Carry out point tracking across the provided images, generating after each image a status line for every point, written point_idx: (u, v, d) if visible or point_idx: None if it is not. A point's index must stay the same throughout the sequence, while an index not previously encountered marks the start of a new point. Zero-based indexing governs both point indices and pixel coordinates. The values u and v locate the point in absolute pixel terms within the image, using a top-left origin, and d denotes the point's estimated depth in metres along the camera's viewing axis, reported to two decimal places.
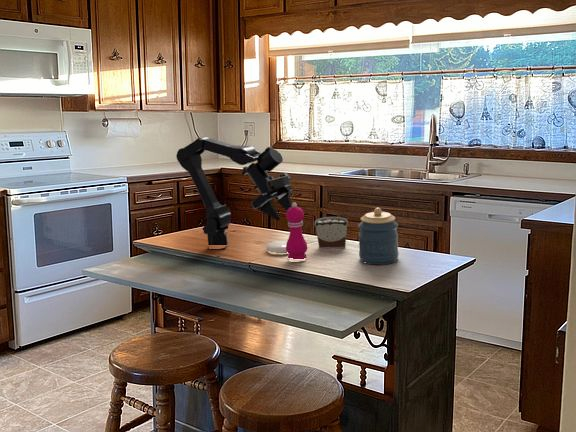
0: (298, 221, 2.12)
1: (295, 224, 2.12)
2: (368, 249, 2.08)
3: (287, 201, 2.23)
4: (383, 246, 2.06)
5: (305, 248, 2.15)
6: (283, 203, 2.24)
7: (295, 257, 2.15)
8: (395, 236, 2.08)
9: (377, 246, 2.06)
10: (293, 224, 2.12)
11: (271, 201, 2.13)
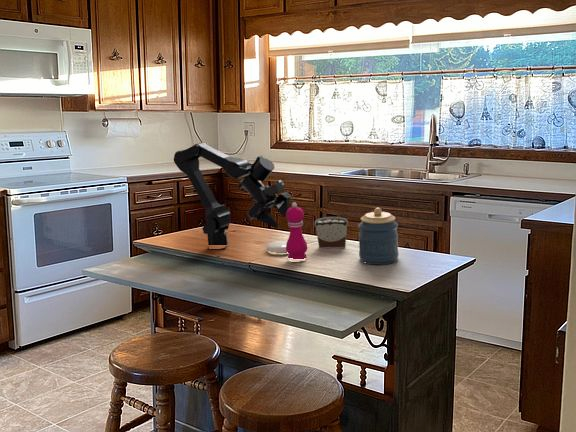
0: (298, 221, 2.12)
1: (295, 224, 2.12)
2: (368, 249, 2.08)
3: (286, 209, 2.21)
4: (383, 246, 2.06)
5: (305, 248, 2.15)
6: (282, 211, 2.23)
7: (295, 257, 2.15)
8: (395, 236, 2.08)
9: (377, 246, 2.06)
10: (293, 224, 2.12)
11: (266, 209, 2.12)
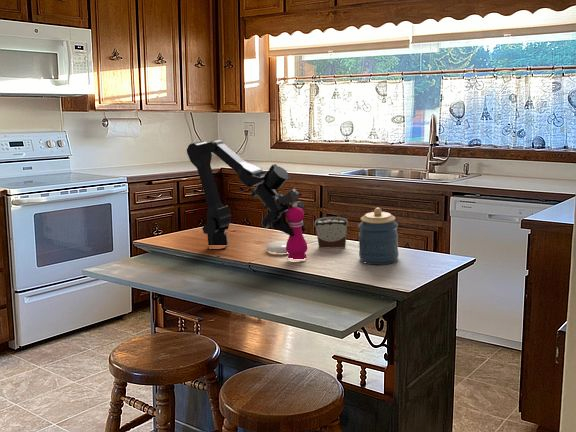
0: (298, 221, 2.12)
1: (295, 224, 2.12)
2: (368, 249, 2.08)
3: None
4: (383, 246, 2.06)
5: (305, 248, 2.15)
6: None
7: (295, 257, 2.15)
8: (395, 236, 2.08)
9: (377, 246, 2.06)
10: (293, 224, 2.12)
11: (283, 217, 2.11)
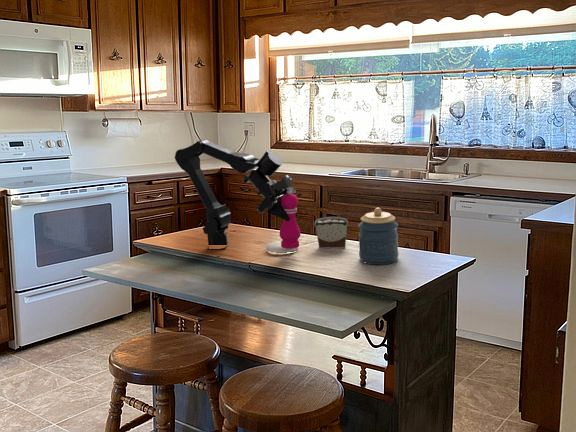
0: (293, 207, 2.17)
1: (290, 210, 2.17)
2: (368, 249, 2.08)
3: None
4: (383, 246, 2.06)
5: (299, 234, 2.19)
6: None
7: (289, 243, 2.19)
8: (395, 236, 2.08)
9: (377, 246, 2.06)
10: (288, 210, 2.17)
11: (279, 202, 2.15)
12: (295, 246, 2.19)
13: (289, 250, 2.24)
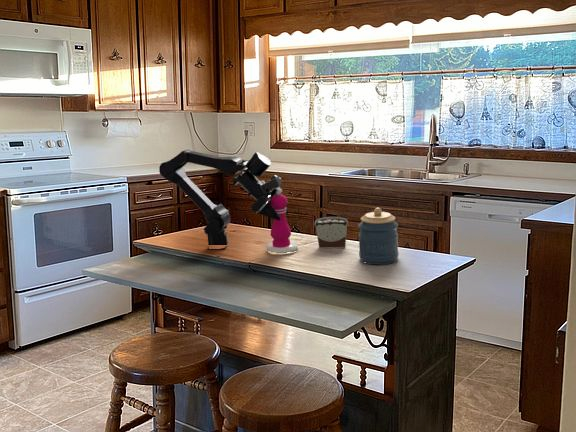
0: (283, 207, 2.24)
1: (281, 210, 2.23)
2: (368, 249, 2.08)
3: None
4: (383, 246, 2.06)
5: (290, 233, 2.27)
6: None
7: (281, 242, 2.26)
8: (395, 236, 2.08)
9: (377, 246, 2.06)
10: (279, 210, 2.23)
11: (270, 202, 2.20)
12: (287, 244, 2.27)
13: (289, 250, 2.24)
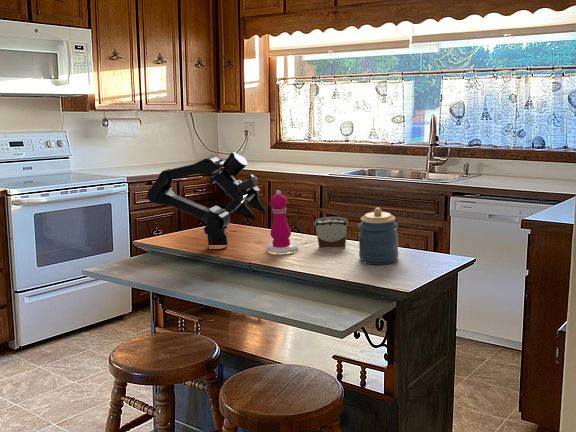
0: (283, 207, 2.24)
1: (281, 210, 2.23)
2: (368, 249, 2.08)
3: (257, 201, 2.33)
4: (383, 246, 2.06)
5: (290, 233, 2.27)
6: (253, 204, 2.34)
7: (281, 242, 2.26)
8: (395, 236, 2.08)
9: (377, 246, 2.06)
10: (279, 210, 2.23)
11: (245, 202, 2.22)
12: (287, 244, 2.27)
13: (289, 250, 2.24)
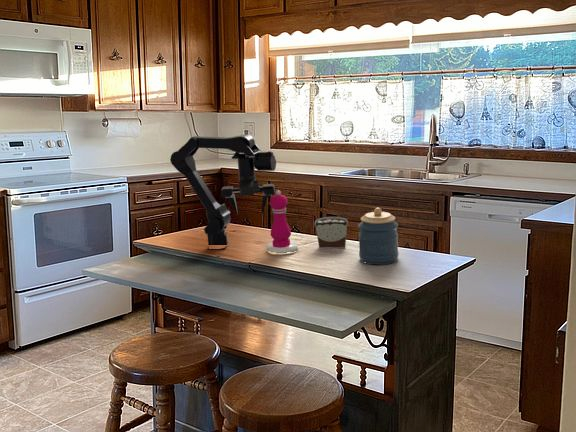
0: (283, 207, 2.24)
1: (281, 210, 2.23)
2: (368, 249, 2.08)
3: (262, 201, 2.28)
4: (383, 246, 2.06)
5: (290, 233, 2.27)
6: None
7: (281, 242, 2.26)
8: (395, 236, 2.08)
9: (377, 246, 2.06)
10: (279, 210, 2.23)
11: (230, 199, 2.26)
12: (287, 244, 2.27)
13: (289, 250, 2.24)
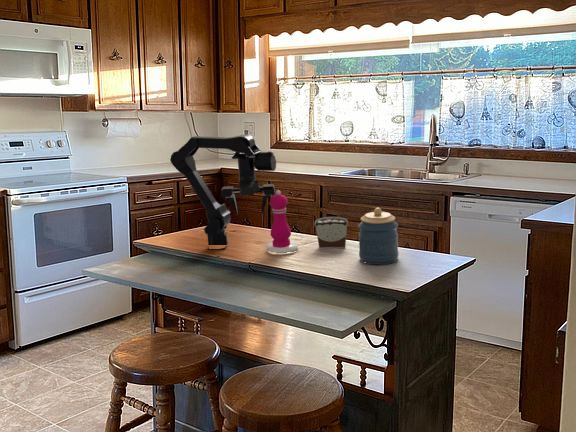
0: (283, 207, 2.24)
1: (281, 210, 2.23)
2: (368, 249, 2.08)
3: (262, 201, 2.28)
4: (383, 246, 2.06)
5: (290, 233, 2.27)
6: None
7: (281, 242, 2.26)
8: (395, 236, 2.08)
9: (377, 246, 2.06)
10: (279, 210, 2.23)
11: (230, 199, 2.26)
12: (287, 244, 2.27)
13: (289, 250, 2.24)
